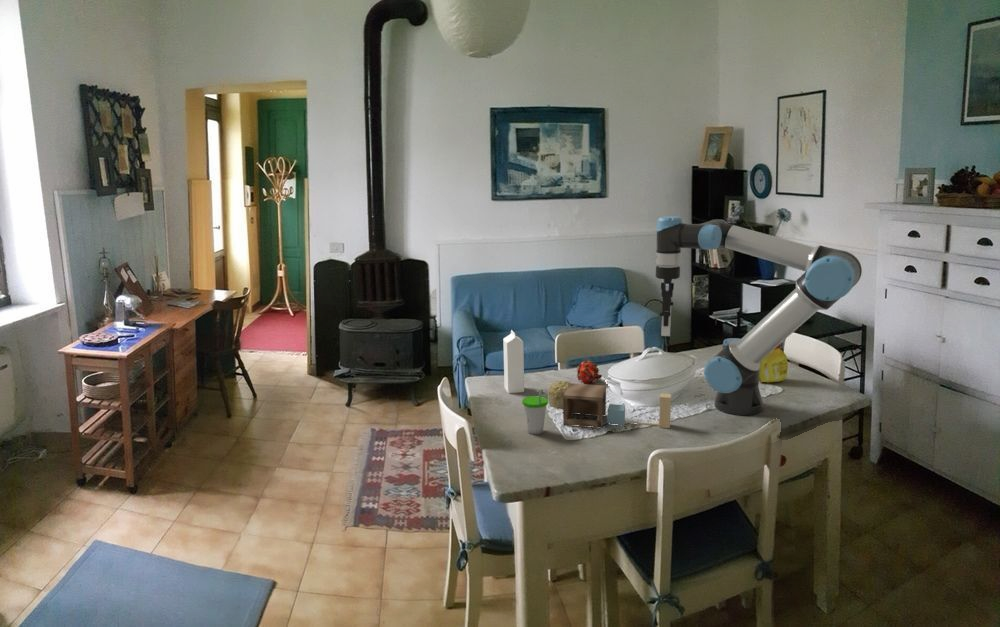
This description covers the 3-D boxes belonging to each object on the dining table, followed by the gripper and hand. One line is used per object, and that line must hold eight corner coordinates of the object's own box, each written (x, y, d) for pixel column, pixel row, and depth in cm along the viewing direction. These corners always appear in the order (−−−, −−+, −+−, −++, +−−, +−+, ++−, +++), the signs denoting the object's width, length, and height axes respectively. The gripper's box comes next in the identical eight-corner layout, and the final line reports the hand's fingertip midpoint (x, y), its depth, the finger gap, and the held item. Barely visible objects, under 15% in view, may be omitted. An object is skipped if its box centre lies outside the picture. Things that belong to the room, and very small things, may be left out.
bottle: (760, 385, 250) (764, 332, 246) (751, 380, 256) (754, 327, 252) (790, 382, 253) (794, 329, 248) (779, 377, 259) (783, 325, 254)
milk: (520, 386, 256) (519, 328, 251) (524, 392, 250) (523, 332, 245) (504, 388, 254) (503, 330, 249) (507, 393, 249) (506, 334, 244)
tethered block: (670, 423, 219) (671, 393, 216) (669, 429, 214) (670, 398, 212) (609, 418, 224) (609, 389, 221) (607, 424, 219) (607, 394, 217)
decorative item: (562, 419, 234) (580, 397, 231) (539, 401, 234) (557, 379, 231) (565, 409, 243) (582, 388, 240) (543, 392, 243) (560, 371, 240)
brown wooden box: (605, 414, 227) (606, 385, 225) (601, 428, 216) (601, 397, 214) (569, 412, 230) (569, 383, 228) (563, 425, 219) (563, 395, 217)
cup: (522, 426, 219) (522, 381, 215) (547, 426, 218) (547, 381, 215) (522, 437, 211) (521, 390, 208) (548, 436, 211) (548, 390, 207)
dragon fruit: (585, 380, 266) (593, 394, 255) (568, 369, 263) (575, 384, 252) (599, 363, 264) (607, 377, 253) (581, 352, 261) (590, 366, 250)
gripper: (657, 259, 233) (655, 320, 238) (654, 272, 210) (652, 339, 215) (680, 259, 232) (678, 321, 236) (680, 272, 208) (677, 340, 213)
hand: (666, 330), depth 226 cm, fingers open, 13 cm apart
